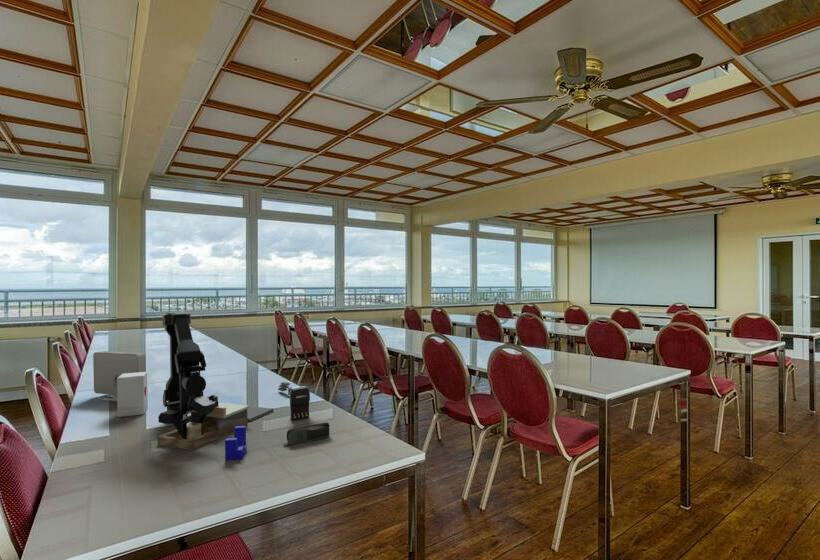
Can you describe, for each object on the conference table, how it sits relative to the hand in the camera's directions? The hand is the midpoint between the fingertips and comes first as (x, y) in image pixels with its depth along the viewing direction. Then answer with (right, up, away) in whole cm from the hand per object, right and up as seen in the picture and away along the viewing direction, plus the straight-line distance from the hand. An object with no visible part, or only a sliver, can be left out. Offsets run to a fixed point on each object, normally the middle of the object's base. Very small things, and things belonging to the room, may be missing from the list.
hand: (190, 437), depth 142 cm
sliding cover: (+5, +5, +12) cm, 14 cm away
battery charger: (+30, -1, +20) cm, 36 cm away
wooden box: (+2, -1, +6) cm, 6 cm away
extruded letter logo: (+19, -1, +50) cm, 54 cm away
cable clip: (+19, -1, -10) cm, 22 cm away
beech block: (0, -1, 0) cm, 1 cm away
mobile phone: (+38, -1, -2) cm, 38 cm away
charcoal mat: (+9, -1, +26) cm, 28 cm away
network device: (-57, -2, +54) cm, 78 cm away
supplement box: (-37, -2, +31) cm, 49 cm away
